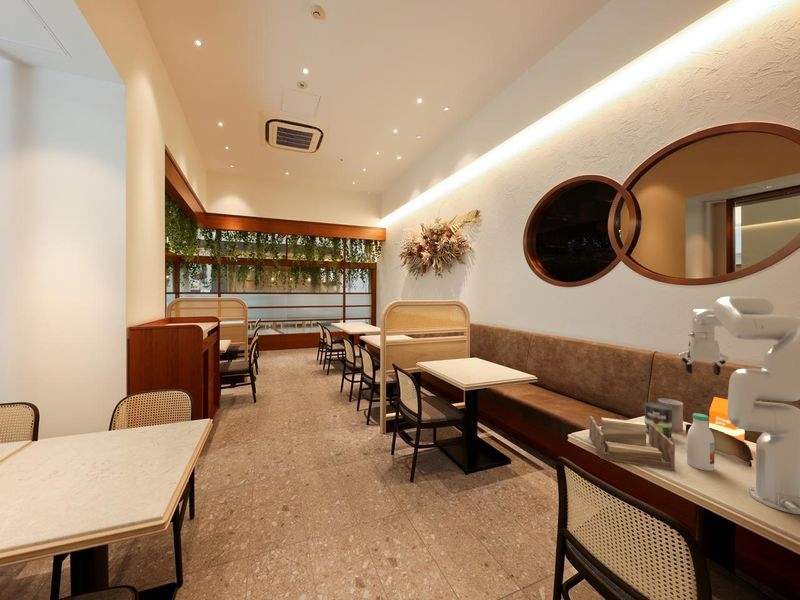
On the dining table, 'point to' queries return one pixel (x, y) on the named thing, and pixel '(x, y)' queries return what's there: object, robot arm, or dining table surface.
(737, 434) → the orange juice
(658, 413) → the coffee can
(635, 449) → the offcut upper
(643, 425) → the birch panel
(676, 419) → the pillar candle
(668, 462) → the rack
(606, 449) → the offcut lower
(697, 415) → the milk bottle
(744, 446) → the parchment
